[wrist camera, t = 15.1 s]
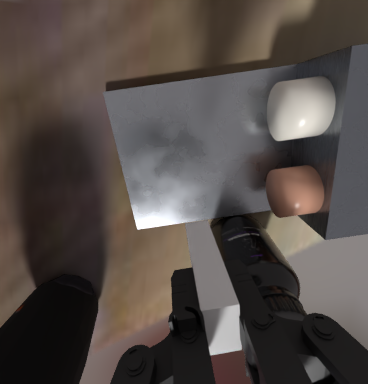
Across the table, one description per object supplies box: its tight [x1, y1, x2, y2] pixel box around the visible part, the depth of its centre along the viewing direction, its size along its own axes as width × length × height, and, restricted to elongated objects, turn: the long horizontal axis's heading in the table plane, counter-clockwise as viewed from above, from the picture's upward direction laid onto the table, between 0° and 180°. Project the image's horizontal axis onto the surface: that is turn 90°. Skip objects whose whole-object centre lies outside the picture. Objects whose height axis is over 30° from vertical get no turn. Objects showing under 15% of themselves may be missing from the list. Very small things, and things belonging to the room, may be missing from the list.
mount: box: [103, 44, 368, 240], centre depth 19 cm, size 25×14×7 cm, turn 98°
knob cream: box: [267, 76, 336, 141], centre depth 17 cm, size 13×4×4 cm, turn 98°
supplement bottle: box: [211, 215, 307, 321], centre depth 20 cm, size 7×7×12 cm
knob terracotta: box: [266, 165, 324, 218], centre depth 20 cm, size 13×4×4 cm, turn 98°
